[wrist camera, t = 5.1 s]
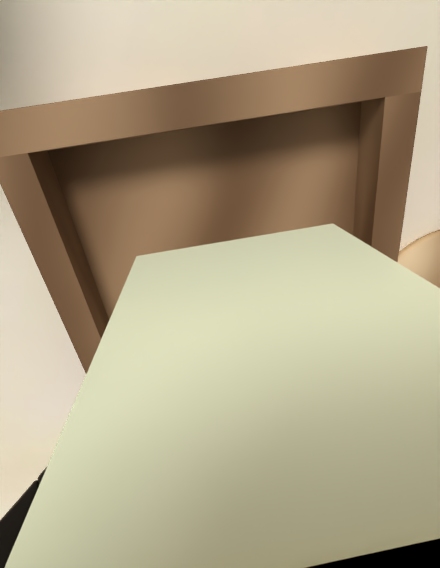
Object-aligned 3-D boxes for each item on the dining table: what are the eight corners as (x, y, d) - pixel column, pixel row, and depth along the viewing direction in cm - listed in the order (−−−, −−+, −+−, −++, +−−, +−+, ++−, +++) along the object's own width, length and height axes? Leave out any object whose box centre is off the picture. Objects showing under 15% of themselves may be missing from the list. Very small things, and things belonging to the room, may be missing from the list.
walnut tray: (386, 61, 11) (427, 46, 9) (360, 354, 17) (380, 381, 16) (7, 118, 11) (-31, 115, 9) (119, 397, 17) (111, 429, 15)
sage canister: (338, 217, 8) (1126, 648, 1) (332, 374, 11) (587, 796, 4) (129, 251, 8) (-213, 933, 1) (173, 402, 11) (148, 890, 4)
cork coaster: (514, 198, 14) (525, 200, 14) (508, 326, 18) (516, 331, 17) (350, 266, 15) (355, 270, 14) (376, 375, 18) (381, 381, 18)
